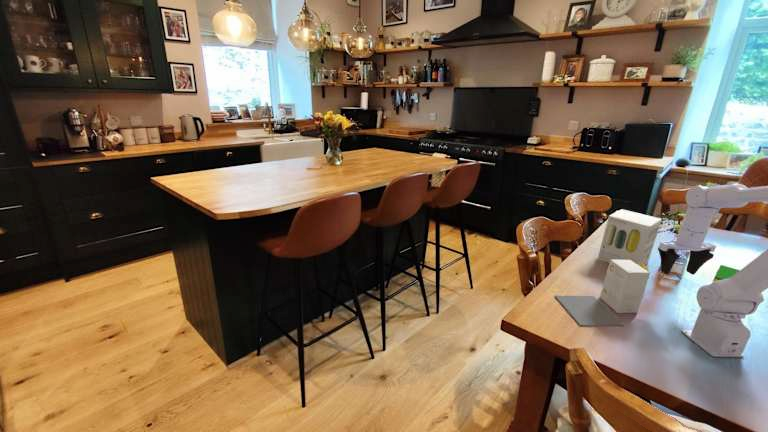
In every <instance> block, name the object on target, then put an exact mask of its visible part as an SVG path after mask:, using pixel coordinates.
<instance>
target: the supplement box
mask: <svg viewBox="0 0 768 432" xmlns="http://www.w3.org/2000/svg"><path fill="white" fill-rule="evenodd" d="M662 220H663V218H660V217H656V216H651V215H647V214H643V213H639V212H635V211H631V210H627V209H623V208H622V209H620V210H618V211H616V212H613V213H611V214H610V215H608V218H607V221H606V226H605V229H604V232H603V237H602V241H601V244H600V247H599V250H598V251H599V252H598V256H597V260H599V261H600V260H601V261H603V262H606V263H610V260H611V259H614V260H631V261H633V262H634V263H636V264H643V265H644V266H646V265H647V264H648V263H649V260H650V257H651V254H652V251H653V248H654V244H655V242H656V238H657V235H658V233H659V229H660V227H661V223H662Z"/></svg>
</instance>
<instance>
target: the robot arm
mask: <svg viewBox="0 0 768 432" xmlns="http://www.w3.org/2000/svg"><path fill="white" fill-rule="evenodd" d="M685 201H686V204H687V207H686V208H687V209H686V211H685V214H684V217H683V219H682V222H681V225H680V227H679V231H678V233H677V236H676V237H674V238H673V239H672V240H671V239H670V240H667V241H660V243H659V245H658V248H657V250H658V252H659V257H660V272H661V273H664V274H665V275H669V274H670V272H671V271H672V268H673V266H674V265H675V263H676V261H678V259H679V258H680V257H681V255H680V254H678V253H677V251H689V256H688V262H687V265H686V270H685V271H686V273H689V274H690V275H695V274H696V273H697V272H698V270H700V268H702V266H703V265H704V264H705V263H707V262H708V261H709V260H711V259H713V257H714V253H715V250H716V247H717V245H716V244H714V243H711V242H708V241H707V242H706V241H705V240H706V237H707V234H708V231H709V229H710V227H711V224H712V222H713V219H714V217H715V216H717V215H718V214H719V212H720V210H721V209H734V208H735V209H740V208H743V207H745V206H747V205H748V204H749V203H767V205H768V185H762V186H754V187H748V186H746V185H744V184H741V183H739V181H728V182H726V184H722V185H720V184H718V183H712V184H711V185H710V186H702V185H699V184H698V185H694V186H692V187H690V188H689V189H688V190H687V192H686V194H685ZM712 252H713V253H712ZM739 270H740V271H739V272H737V273H736V274H735V275H734V276H732V277H731V278H727V279H723V280H718V281H714V282H713V281H712V282H711V283H710V284H705V285H702V286H700V287H699V288H698V290H697V293H696V301H697V304H698V306H699V308H700V311H699V312H698V316H697V318H696V320H695V323H694V325H693V328H692V329H682V330H681V333H683V334H684V335H685V336H686V337H687V338H689V339H690V340H692V341H693V342H694V343H695V344H697V345H698V347H700V348H702V350H704V351H705V352H706V353H708V354H709V355H710V356H711V357H714V358H715V357H716V358H719V357H721V358H722V357H723V358H724V357H726V358H729V357H731V358H743V357H745V354H744V353H743V352H744V350H745V348H746V346H747V345H748V342H749V339H750V337H751V330H750V329H749V328H748V327H747V326H746V325H745V324H744V323H743V321H742V319H744V320H745V318H746V316H747V315H752V314H754V313H756V311H757V309H758V307H759V305H760V304H761V303H763V302H765V298H764V295H763V292H764V291H766V290H767V289H768V248H767V249H766V250H764V251H763V252H762V253H761V254H760V255H758V256H757V257H755V258H754V259H753V260H752V261H750V262H749V263H748V264H747V265H745V266H744V267H743V268H741V269H739Z"/></svg>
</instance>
